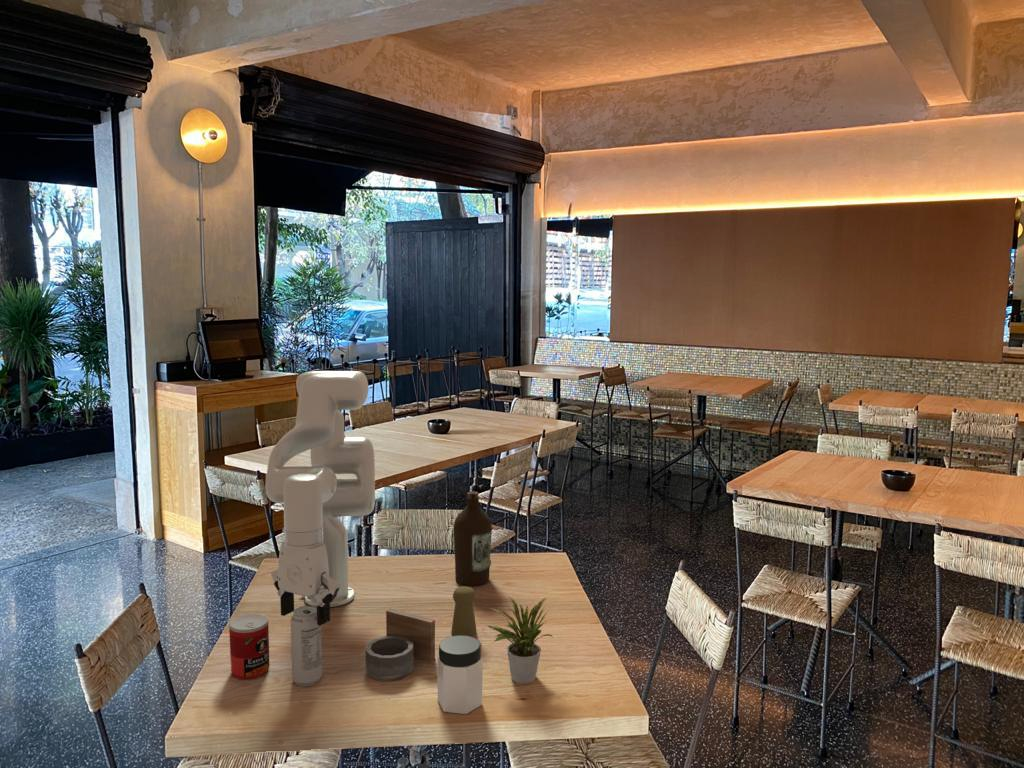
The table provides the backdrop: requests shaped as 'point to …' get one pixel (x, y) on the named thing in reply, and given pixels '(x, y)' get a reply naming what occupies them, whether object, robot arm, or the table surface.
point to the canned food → (249, 646)
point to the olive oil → (472, 543)
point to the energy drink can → (306, 646)
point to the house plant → (522, 642)
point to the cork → (464, 612)
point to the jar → (460, 674)
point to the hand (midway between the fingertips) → (305, 618)
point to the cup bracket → (400, 646)
